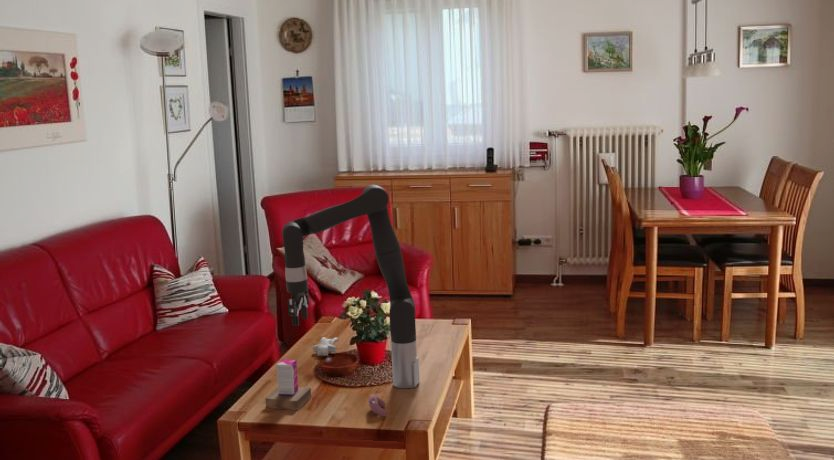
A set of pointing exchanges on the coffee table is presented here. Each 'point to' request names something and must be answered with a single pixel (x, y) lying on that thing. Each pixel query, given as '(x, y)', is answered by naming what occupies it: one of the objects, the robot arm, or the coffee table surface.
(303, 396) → the grey wooden square block
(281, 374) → the supplement box
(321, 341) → the bunny figurine
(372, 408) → the pink rounded lump
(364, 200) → the robot arm
